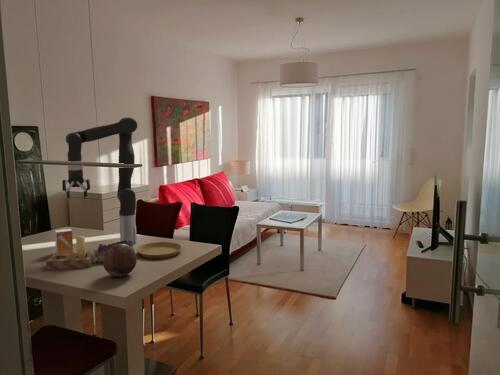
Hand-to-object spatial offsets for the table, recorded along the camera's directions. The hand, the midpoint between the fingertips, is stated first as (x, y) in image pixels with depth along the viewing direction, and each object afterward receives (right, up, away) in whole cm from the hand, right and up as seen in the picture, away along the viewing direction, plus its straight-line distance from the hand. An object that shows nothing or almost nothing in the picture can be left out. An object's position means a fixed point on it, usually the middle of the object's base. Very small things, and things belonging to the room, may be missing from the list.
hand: (77, 197), depth 221 cm
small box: (-6, -31, -2) cm, 31 cm away
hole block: (+6, -33, -21) cm, 40 cm away
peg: (+11, -33, -20) cm, 40 cm away
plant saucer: (+47, -31, -2) cm, 56 cm away
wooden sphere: (+37, -36, -37) cm, 63 cm away
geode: (+25, -32, -10) cm, 42 cm away
